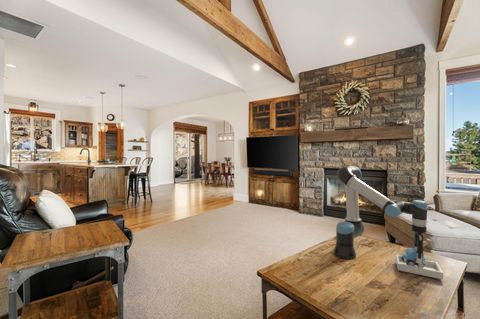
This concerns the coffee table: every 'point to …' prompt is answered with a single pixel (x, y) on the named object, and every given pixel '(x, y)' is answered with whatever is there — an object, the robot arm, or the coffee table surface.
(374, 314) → the coffee table surface
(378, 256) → the coffee table surface
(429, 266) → the white tray
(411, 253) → the toy excavator
